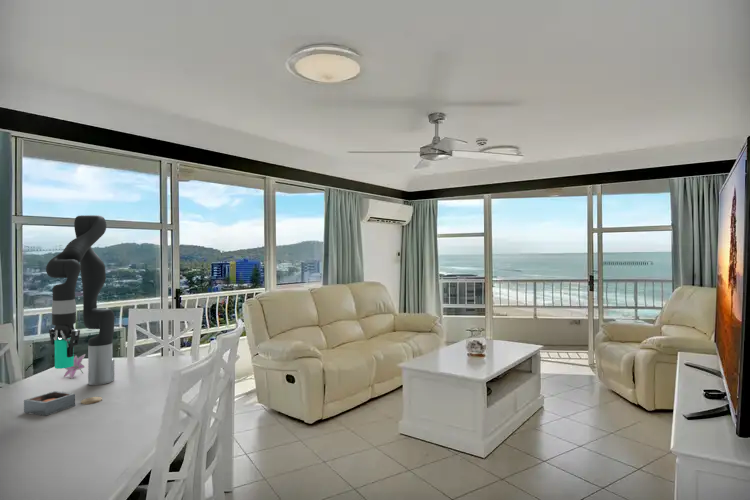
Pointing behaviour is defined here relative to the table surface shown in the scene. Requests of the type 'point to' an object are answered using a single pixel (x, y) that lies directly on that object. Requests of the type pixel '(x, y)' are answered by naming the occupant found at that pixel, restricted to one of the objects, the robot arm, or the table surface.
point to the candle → (62, 355)
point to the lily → (75, 366)
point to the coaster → (91, 400)
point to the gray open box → (49, 403)
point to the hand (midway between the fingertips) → (64, 356)
